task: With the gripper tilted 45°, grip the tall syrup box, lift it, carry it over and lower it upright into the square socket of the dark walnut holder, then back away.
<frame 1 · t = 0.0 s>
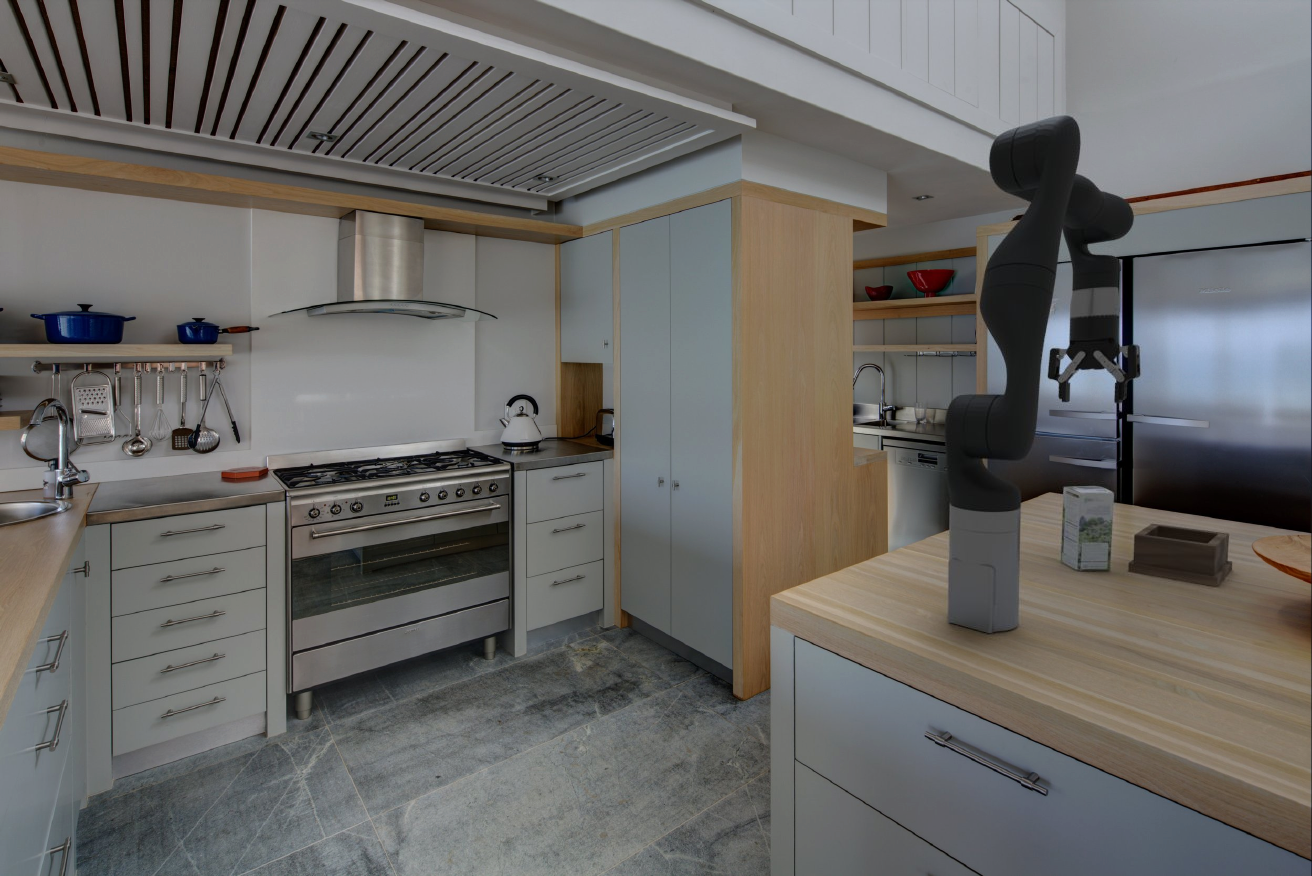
hand: (1091, 402, 121), 29 cm above the worktop, tool pointing down, fingers open, 8 cm apart
syrup box: (1085, 567, 118), on the worktop
holder: (1179, 570, 114), on the worktop
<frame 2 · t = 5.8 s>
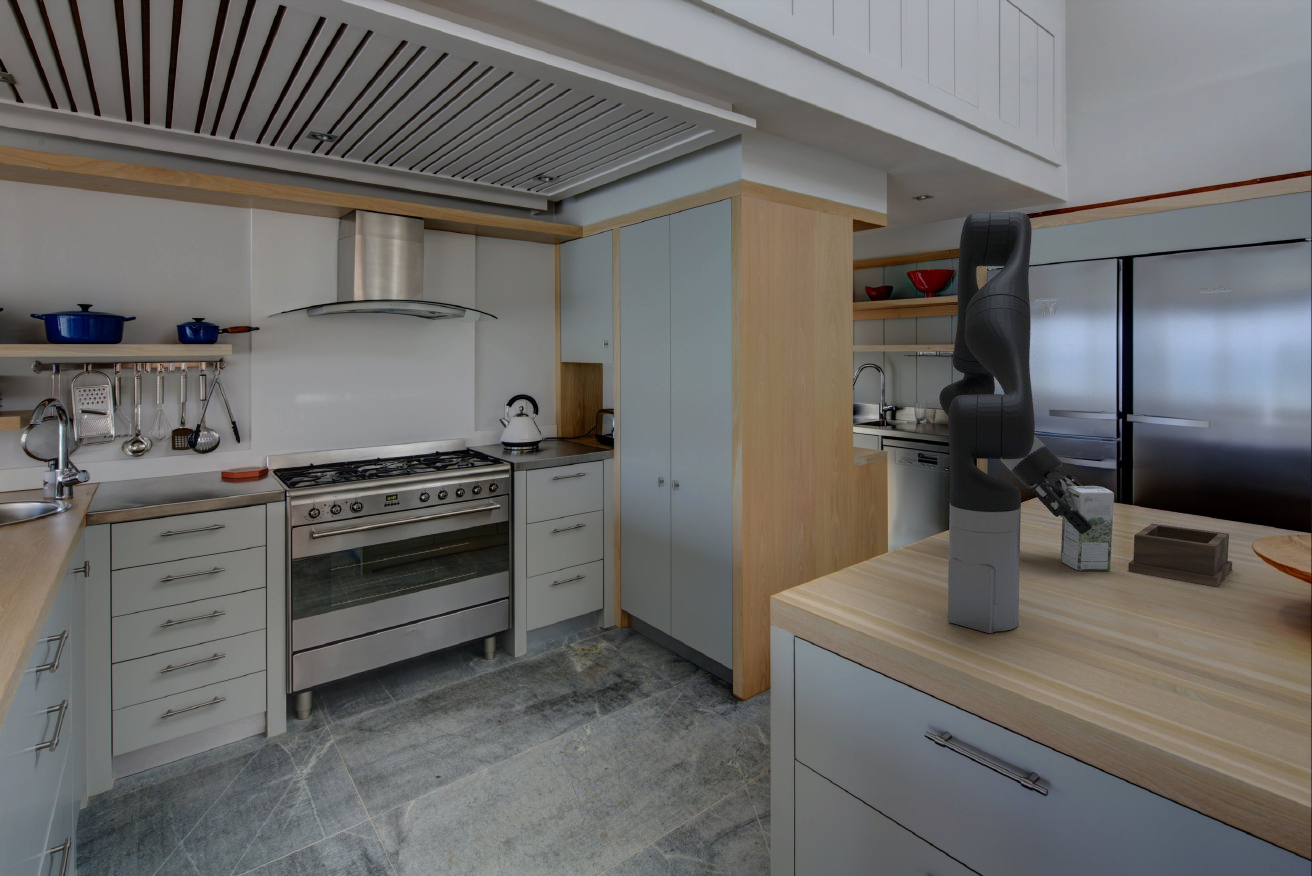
hand: (1095, 526, 116), 8 cm above the worktop, tool tilted 45°, fingers closed on syrup box, 8 cm apart
syrup box: (1085, 567, 118), on the worktop, touching gripper
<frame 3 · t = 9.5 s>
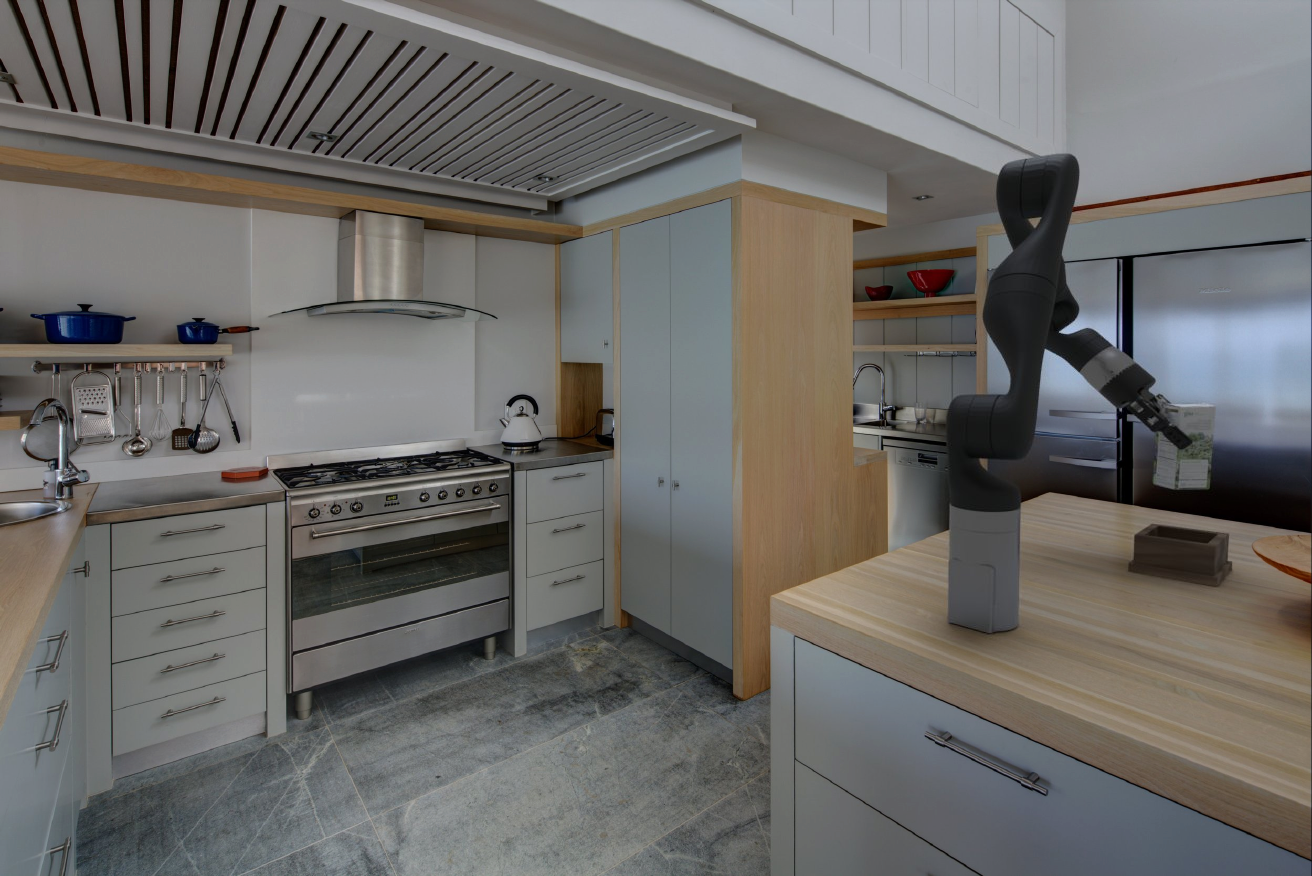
hand: (1193, 443, 110), 22 cm above the worktop, tool tilted 45°, fingers closed on syrup box, 8 cm apart
syrup box: (1180, 488, 112), point 15 cm above the worktop, touching gripper
when the fingers open (10 cm above the worktop, at t = 13.4 s): syrup box drops 1 cm, resting on holder.
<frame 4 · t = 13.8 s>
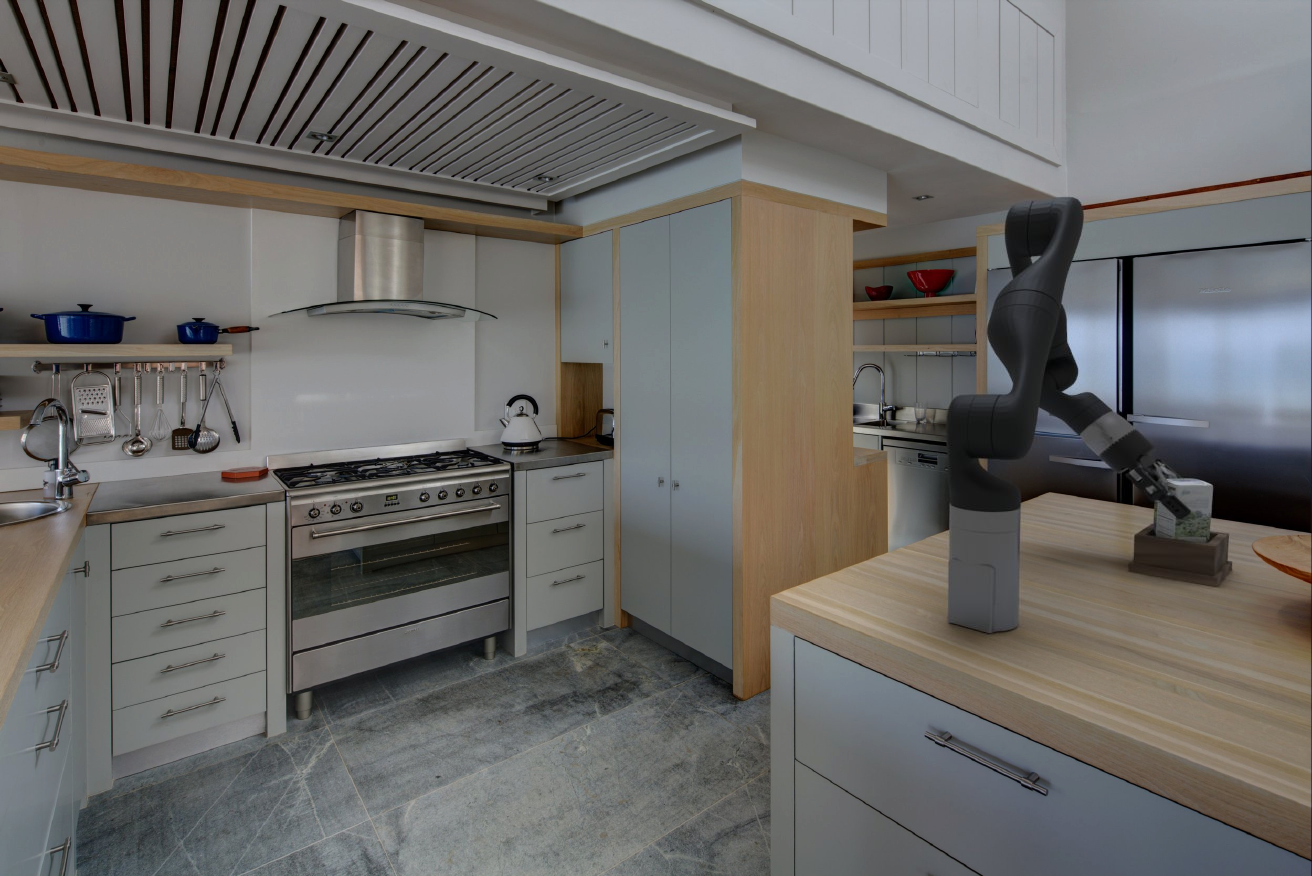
hand: (1192, 511, 111), 11 cm above the worktop, tool tilted 45°, fingers open, 8 cm apart
syrup box: (1179, 563, 114), point 1 cm above the worktop, touching holder
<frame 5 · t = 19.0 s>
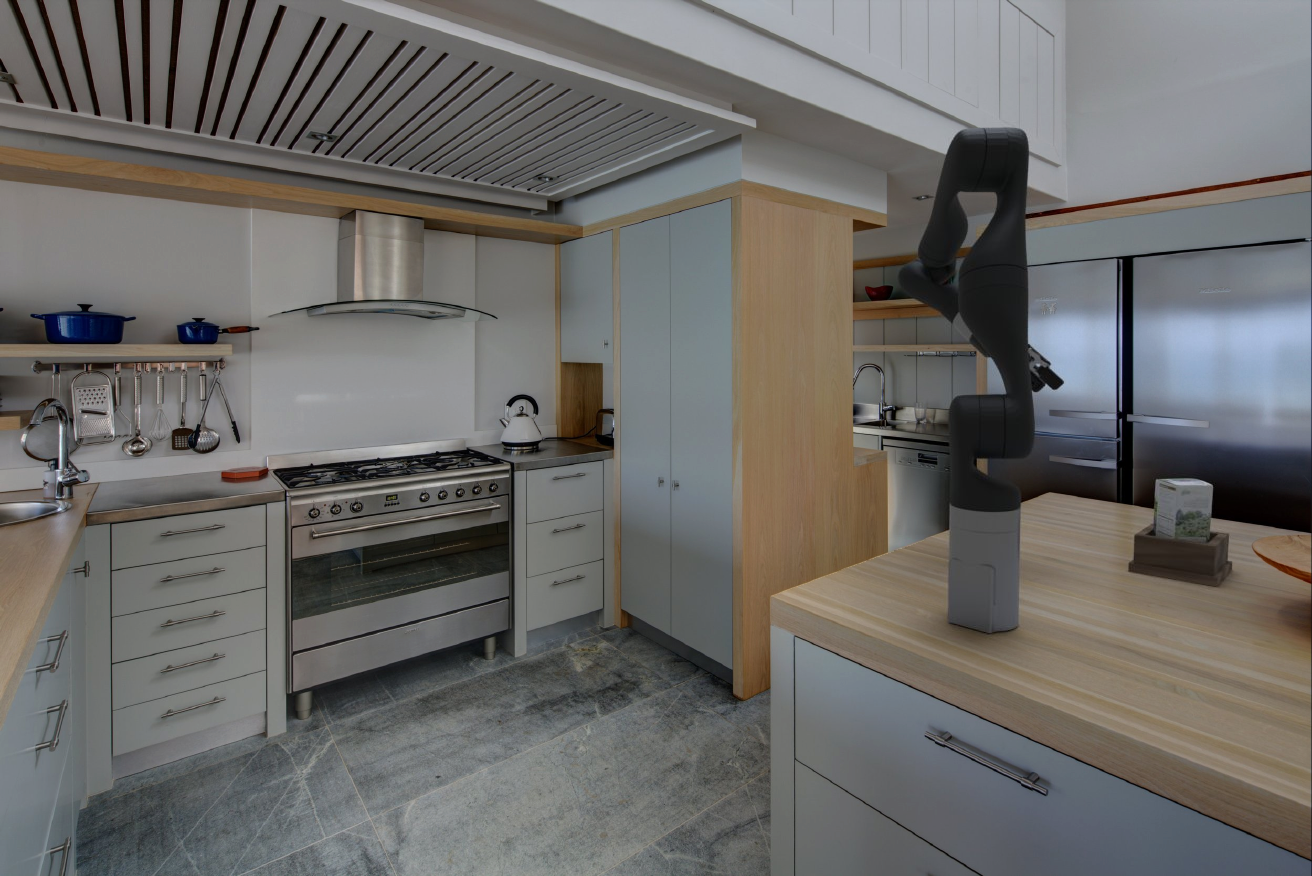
hand: (1050, 387, 115), 33 cm above the worktop, tool tilted 45°, fingers open, 8 cm apart
nothing on the worktop moved.
at the end: syrup box 0.1 cm off-centre on the holder, point 1.3 cm above the holder's base; syrup box tilted 0°; the gripper is holding nothing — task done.
